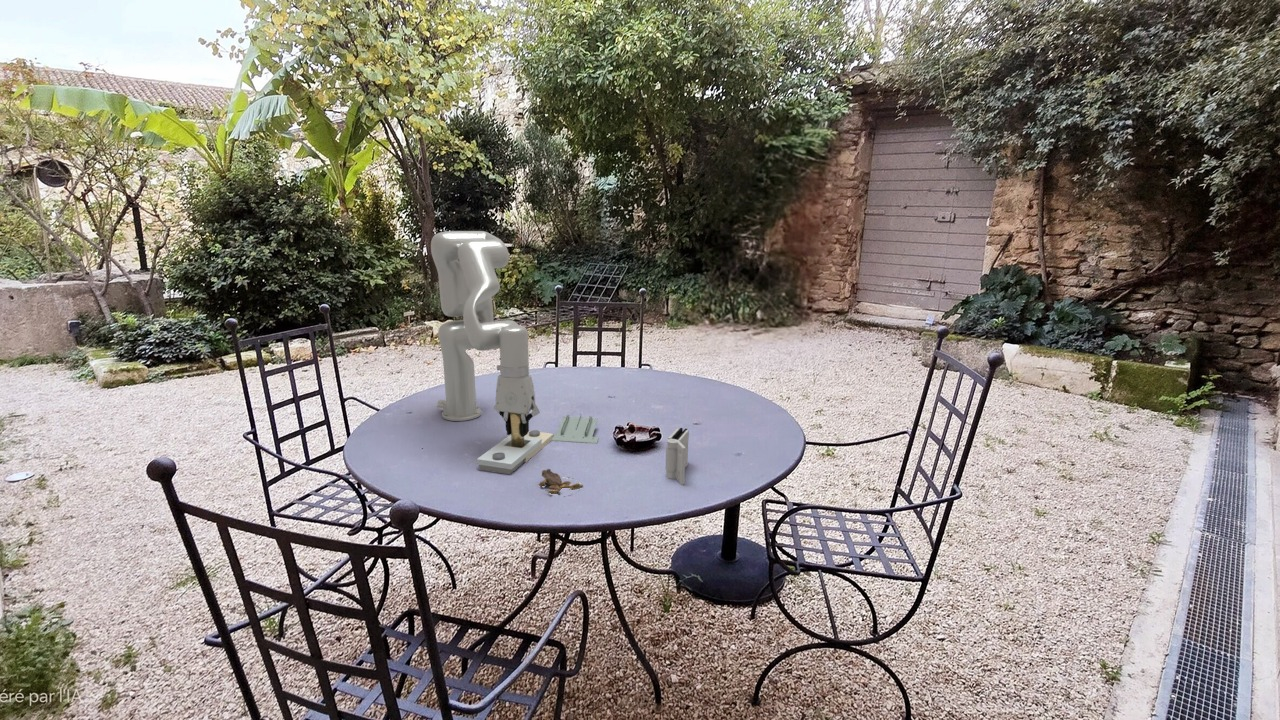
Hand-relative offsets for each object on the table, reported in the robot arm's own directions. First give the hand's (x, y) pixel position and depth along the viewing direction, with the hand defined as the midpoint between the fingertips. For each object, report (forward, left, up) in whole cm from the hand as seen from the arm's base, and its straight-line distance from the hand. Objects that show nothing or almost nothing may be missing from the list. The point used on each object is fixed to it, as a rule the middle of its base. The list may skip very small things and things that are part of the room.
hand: (517, 433), depth 164 cm
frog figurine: (+19, -15, -7) cm, 25 cm away
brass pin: (0, 0, -4) cm, 4 cm away
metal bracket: (+10, +18, -7) cm, 22 cm away
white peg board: (0, 0, -6) cm, 6 cm away
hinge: (+46, +2, -6) cm, 46 cm away
